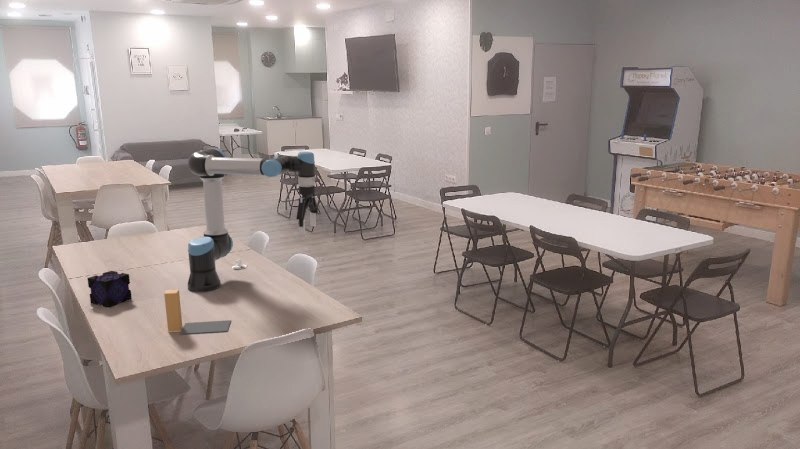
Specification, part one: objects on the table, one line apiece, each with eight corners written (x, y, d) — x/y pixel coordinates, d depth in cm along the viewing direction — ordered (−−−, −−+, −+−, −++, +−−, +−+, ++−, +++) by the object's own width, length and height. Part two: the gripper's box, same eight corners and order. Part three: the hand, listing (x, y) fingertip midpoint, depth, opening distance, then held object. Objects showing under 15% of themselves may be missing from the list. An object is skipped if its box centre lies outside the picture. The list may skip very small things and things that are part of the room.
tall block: (168, 332, 236) (164, 293, 233) (170, 327, 241) (166, 289, 237) (180, 331, 237) (176, 293, 233) (182, 327, 241) (178, 289, 238)
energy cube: (114, 295, 279) (111, 270, 276) (131, 299, 274) (128, 274, 271) (90, 303, 269) (87, 277, 266) (108, 307, 263) (105, 281, 261)
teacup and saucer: (236, 271, 315) (236, 263, 314) (227, 268, 320) (226, 261, 319) (250, 267, 322) (249, 259, 321) (240, 264, 327) (240, 257, 326)
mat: (179, 334, 234) (179, 333, 234) (185, 323, 244) (185, 322, 244) (227, 331, 236) (227, 330, 236) (230, 321, 247) (230, 320, 247)
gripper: (303, 190, 267) (304, 236, 272) (323, 181, 291) (324, 224, 296) (288, 189, 269) (289, 235, 274) (309, 180, 292) (310, 222, 298)
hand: (307, 229), depth 285 cm, fingers open, 13 cm apart
